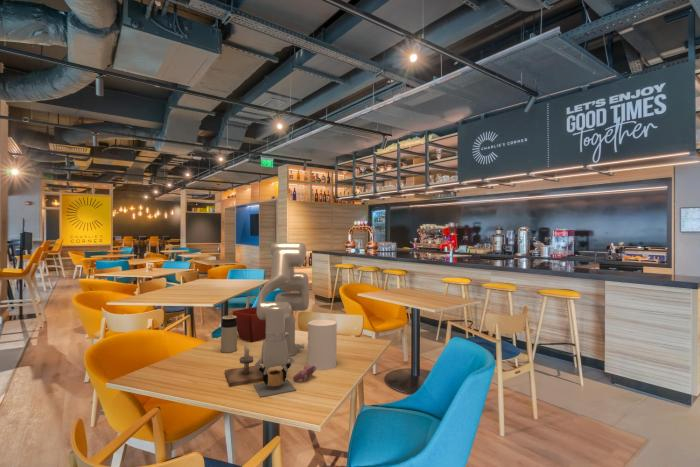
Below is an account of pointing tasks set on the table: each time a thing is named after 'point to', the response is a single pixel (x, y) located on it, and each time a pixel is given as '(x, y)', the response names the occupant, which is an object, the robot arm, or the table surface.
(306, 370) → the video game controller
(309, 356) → the canister
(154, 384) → the table surface
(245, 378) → the post stand
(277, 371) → the wooden ring
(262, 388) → the rubber mat
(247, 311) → the plant pot
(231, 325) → the travel mug
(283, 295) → the robot arm
